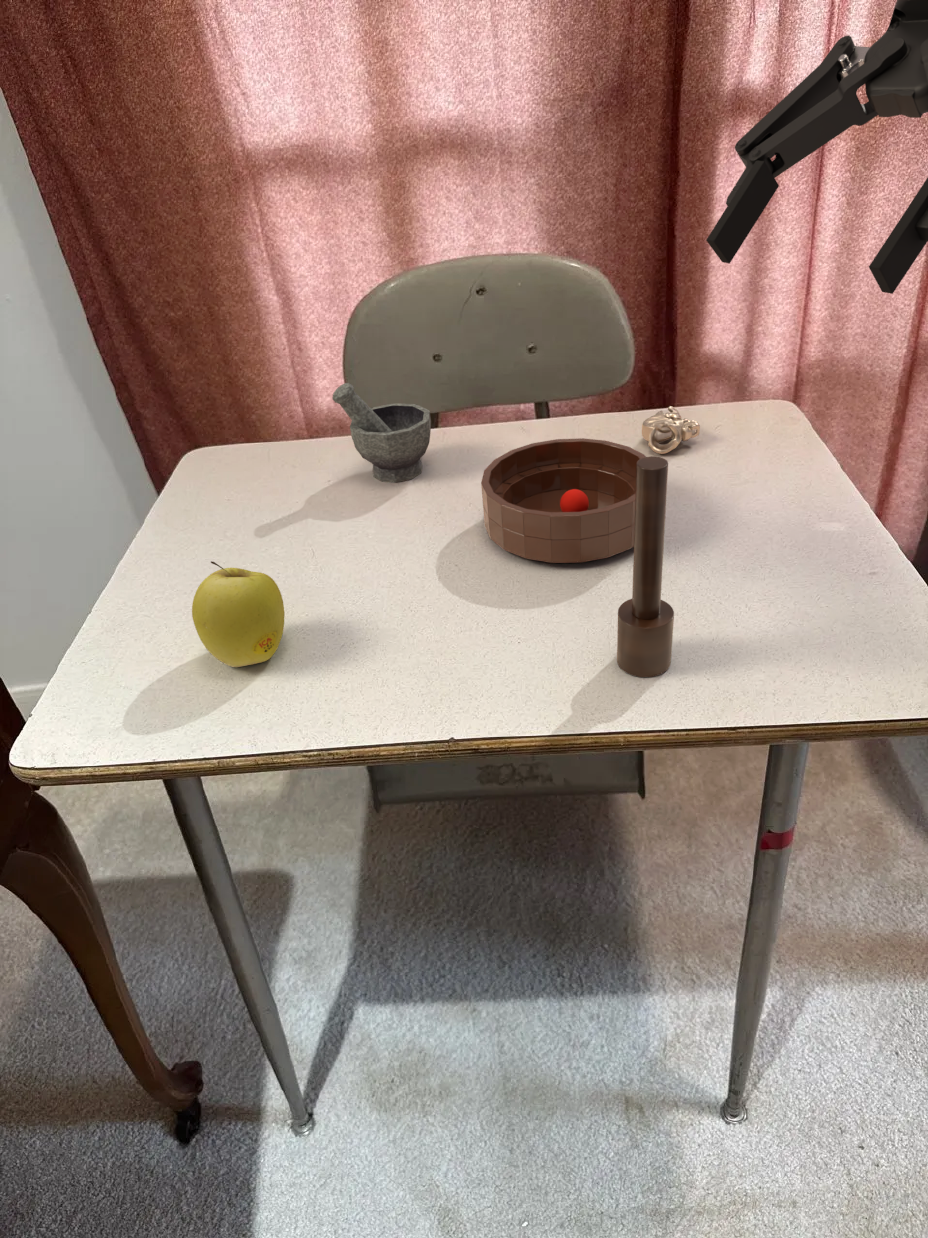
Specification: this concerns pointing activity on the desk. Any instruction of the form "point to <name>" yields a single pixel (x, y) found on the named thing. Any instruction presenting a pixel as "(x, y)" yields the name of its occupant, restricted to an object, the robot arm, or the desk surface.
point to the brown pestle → (647, 580)
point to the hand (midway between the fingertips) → (792, 265)
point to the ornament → (668, 430)
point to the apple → (239, 616)
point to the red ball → (574, 501)
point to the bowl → (532, 489)
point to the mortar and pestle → (387, 434)
